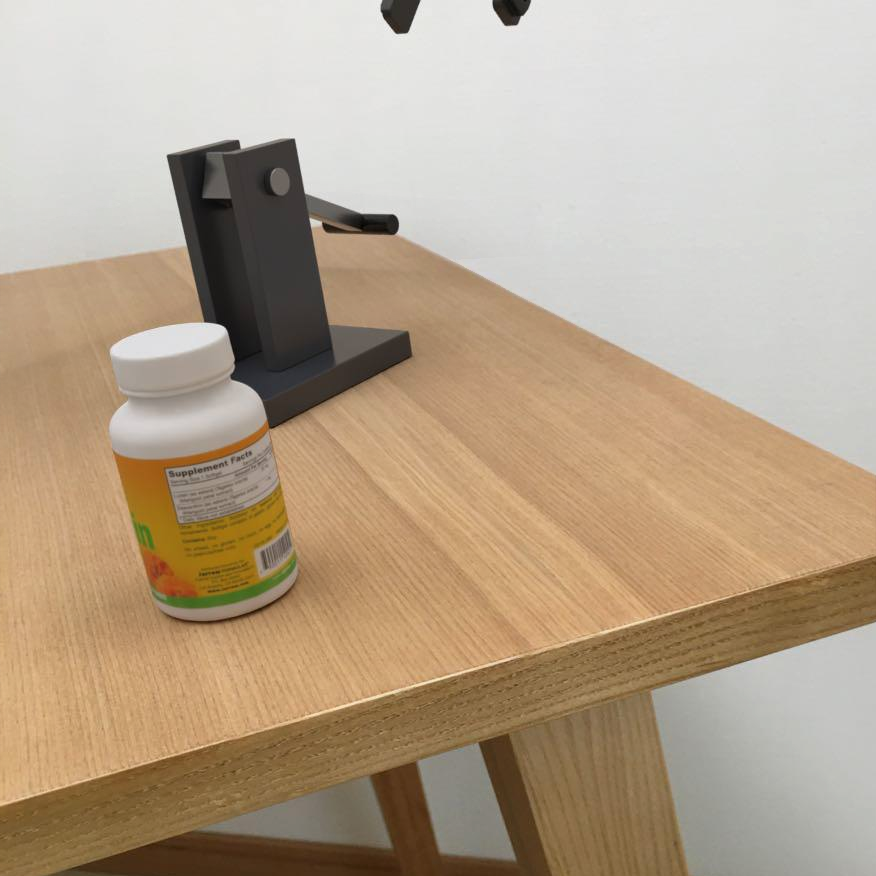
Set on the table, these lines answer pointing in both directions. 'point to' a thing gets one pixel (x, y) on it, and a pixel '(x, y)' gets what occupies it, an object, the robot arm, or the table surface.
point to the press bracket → (271, 280)
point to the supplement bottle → (199, 475)
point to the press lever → (318, 209)
